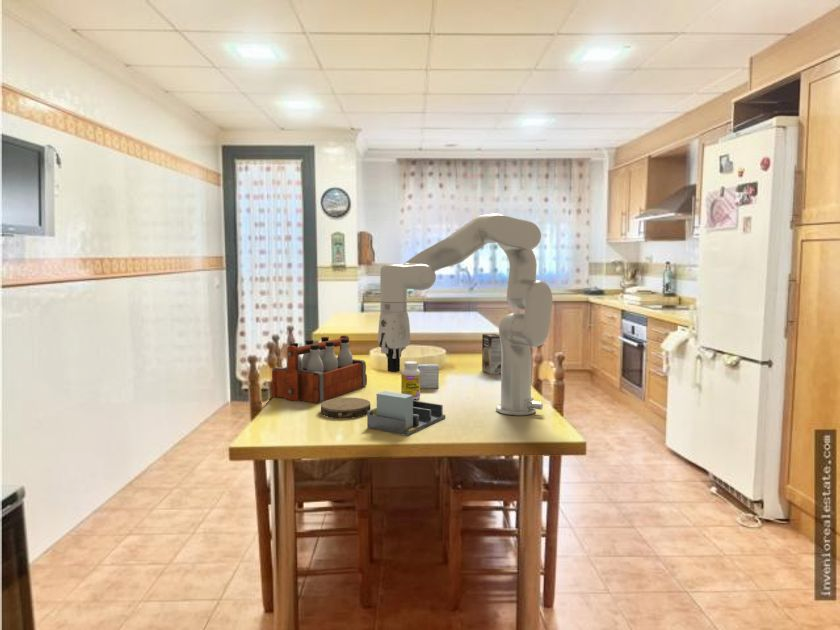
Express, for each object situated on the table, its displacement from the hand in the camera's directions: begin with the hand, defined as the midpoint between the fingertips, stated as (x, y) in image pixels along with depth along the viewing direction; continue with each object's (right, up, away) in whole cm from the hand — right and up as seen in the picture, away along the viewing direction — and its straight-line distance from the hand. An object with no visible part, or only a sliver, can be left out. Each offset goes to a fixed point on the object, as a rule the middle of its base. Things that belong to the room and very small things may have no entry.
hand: (393, 371), depth 167 cm
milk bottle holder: (-29, -13, +48) cm, 58 cm away
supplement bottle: (+4, -13, +38) cm, 40 cm away
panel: (0, -16, +2) cm, 16 cm away
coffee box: (+39, -9, +84) cm, 93 cm away
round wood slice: (-16, -15, +20) cm, 30 cm away
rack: (+4, -16, +7) cm, 18 cm away
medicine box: (+11, -12, +55) cm, 57 cm away
